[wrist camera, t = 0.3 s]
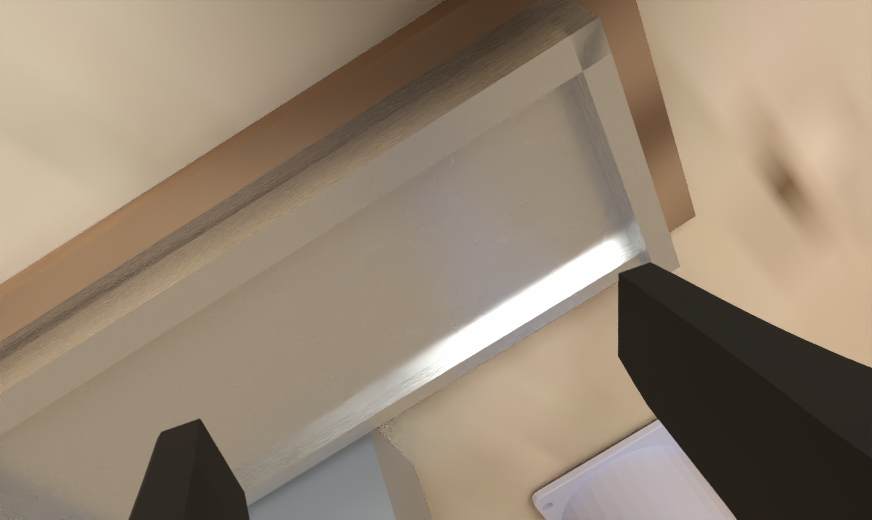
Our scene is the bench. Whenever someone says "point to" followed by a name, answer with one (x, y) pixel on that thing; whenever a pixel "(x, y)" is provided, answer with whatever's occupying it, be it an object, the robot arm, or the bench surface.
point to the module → (350, 487)
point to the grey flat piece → (343, 277)
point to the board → (320, 115)
